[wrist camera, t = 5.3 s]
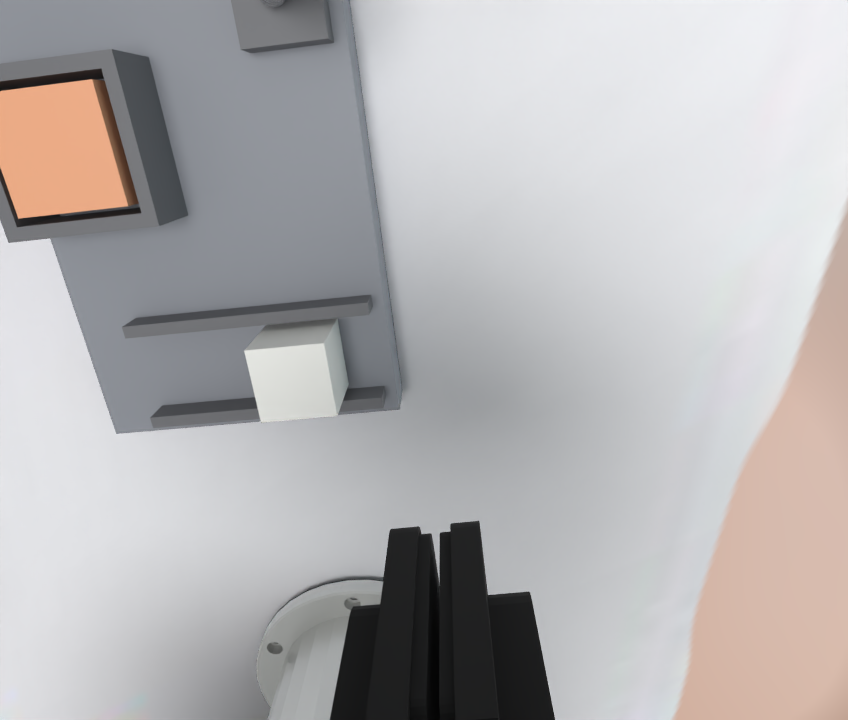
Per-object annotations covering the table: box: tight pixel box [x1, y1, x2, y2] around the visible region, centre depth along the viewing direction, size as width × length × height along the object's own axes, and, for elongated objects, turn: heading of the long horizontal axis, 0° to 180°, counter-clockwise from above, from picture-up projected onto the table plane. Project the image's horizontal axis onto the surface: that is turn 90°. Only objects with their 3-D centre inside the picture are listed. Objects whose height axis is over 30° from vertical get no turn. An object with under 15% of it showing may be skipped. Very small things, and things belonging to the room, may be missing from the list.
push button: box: [0, 79, 139, 219], centre depth 21 cm, size 4×4×2 cm
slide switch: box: [244, 318, 349, 423], centre depth 24 cm, size 3×3×3 cm
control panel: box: [0, 0, 402, 434], centre depth 23 cm, size 18×13×5 cm
